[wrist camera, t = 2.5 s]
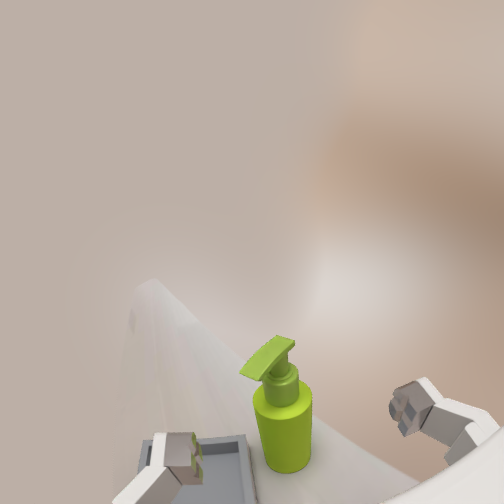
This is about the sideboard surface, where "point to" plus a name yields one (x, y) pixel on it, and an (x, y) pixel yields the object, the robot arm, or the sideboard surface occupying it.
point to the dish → (216, 472)
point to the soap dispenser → (281, 406)
